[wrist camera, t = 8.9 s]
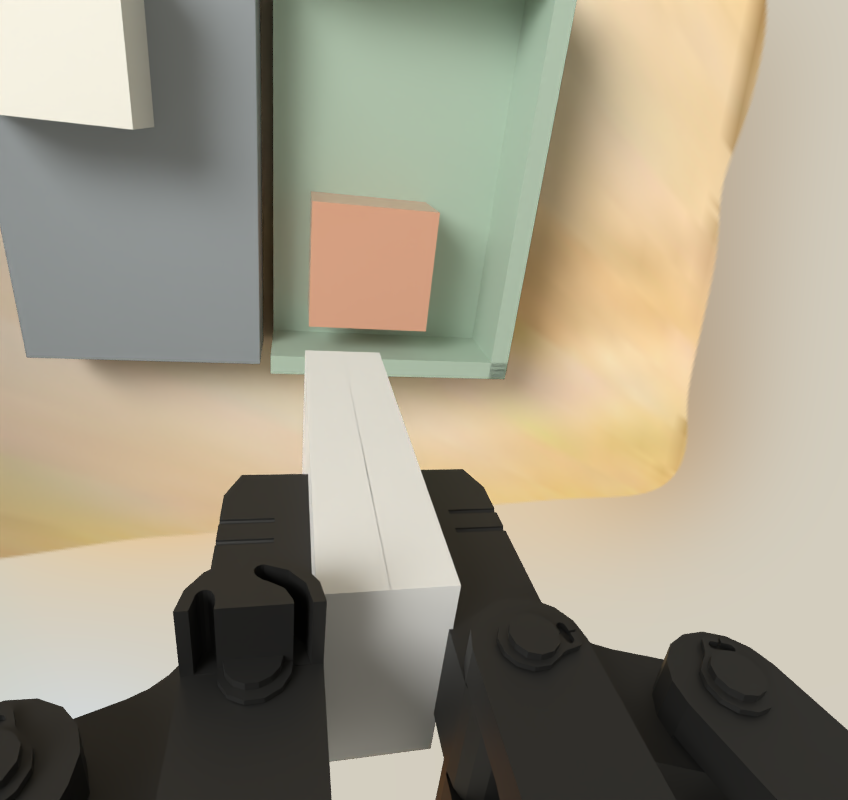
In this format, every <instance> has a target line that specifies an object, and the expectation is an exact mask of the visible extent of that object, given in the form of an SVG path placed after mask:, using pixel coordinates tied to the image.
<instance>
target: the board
mask: <svg viewBox="0 0 848 800" xmlns="http://www.w3.org/2000/svg"><path fill="white" fill-rule="evenodd" d="M144 8H145V20H146V32H147V44H148V56H149V68H150V80H151V92H152V104H153V117H154V127H151V128H143V129H135V130H131V129H122V128H113V127H104V126H95V125H86V124H77V123H69V122H60V121H51V120H42V119H33V118H24V117H15V116H6V115H0V228H1V233H2V238H3V243H4V248H5V252H6V257H7V262H8V267H9V272H10V277H11V282H12V287H13V292H14V297H15V302H16V307H17V312H18V317H19V322H20V326H21V331H22V336H23V341H24V346H25V351H26V356H27V357H29V358H65V359H101V360H137V361H173V362H209V363H245V364H260V359H261V352H262V346H263V247H262V141H261V35H260V0H144Z"/></svg>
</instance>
